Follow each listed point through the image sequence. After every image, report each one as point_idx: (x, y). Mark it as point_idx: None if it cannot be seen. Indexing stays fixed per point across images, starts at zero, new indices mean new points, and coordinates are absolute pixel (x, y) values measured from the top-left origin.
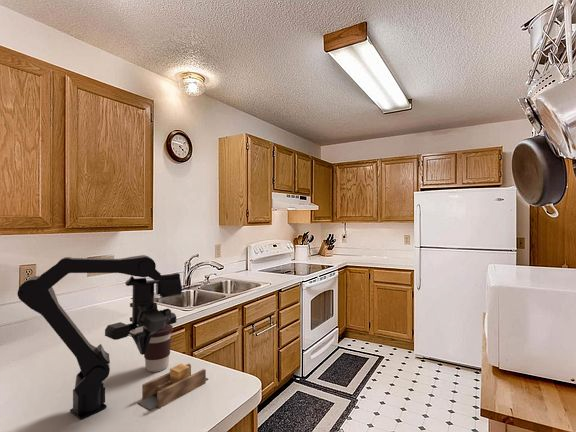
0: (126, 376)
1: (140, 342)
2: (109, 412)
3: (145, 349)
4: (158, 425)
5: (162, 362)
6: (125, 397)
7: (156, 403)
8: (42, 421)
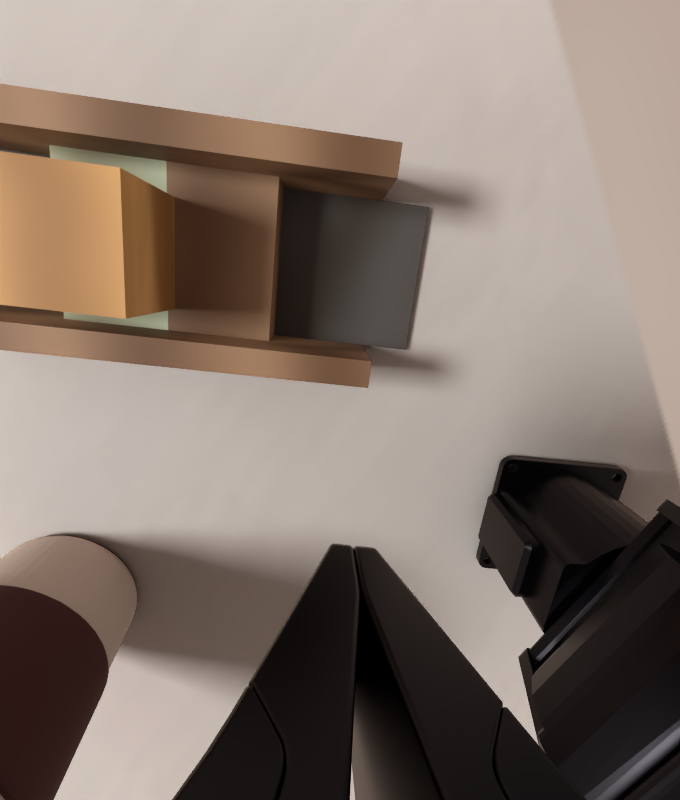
0: (242, 636)
1: (558, 786)
2: (524, 408)
3: (334, 584)
4: (527, 2)
5: (41, 568)
6: (389, 461)
7: (361, 232)
8: None
